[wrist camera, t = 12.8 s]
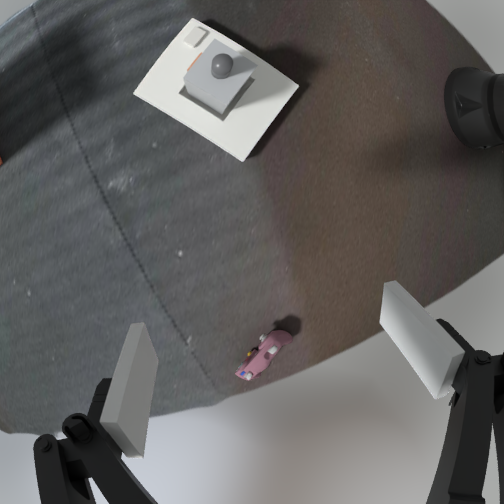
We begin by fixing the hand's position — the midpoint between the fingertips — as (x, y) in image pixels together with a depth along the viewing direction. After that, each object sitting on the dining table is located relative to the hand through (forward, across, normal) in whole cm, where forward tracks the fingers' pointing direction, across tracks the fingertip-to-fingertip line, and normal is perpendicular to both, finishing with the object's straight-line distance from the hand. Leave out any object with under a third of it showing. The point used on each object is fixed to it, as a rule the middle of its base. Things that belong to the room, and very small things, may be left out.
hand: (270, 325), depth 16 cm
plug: (+26, -1, +15) cm, 31 cm away
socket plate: (+27, -1, +15) cm, 31 cm away
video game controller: (+26, +1, -23) cm, 35 cm away
